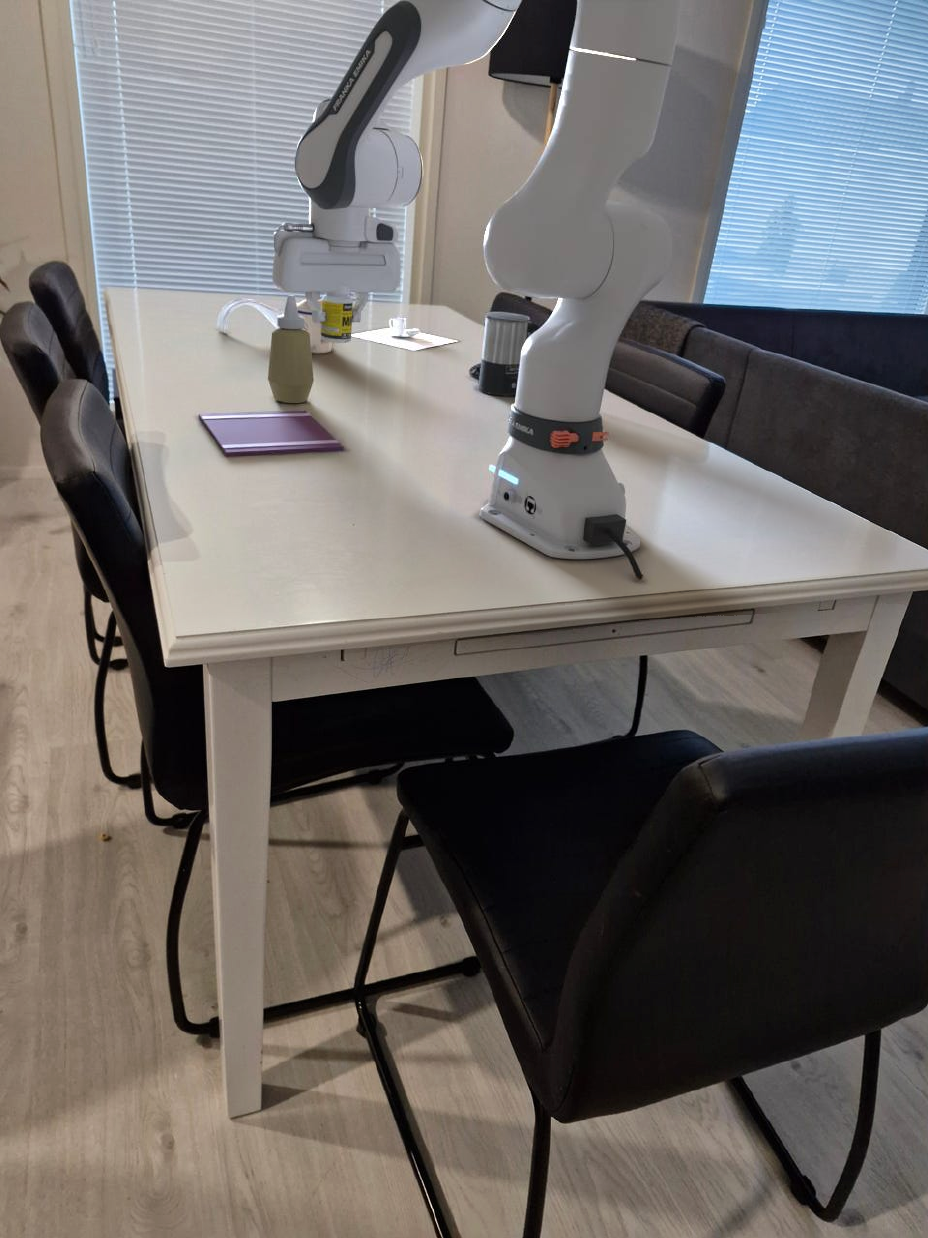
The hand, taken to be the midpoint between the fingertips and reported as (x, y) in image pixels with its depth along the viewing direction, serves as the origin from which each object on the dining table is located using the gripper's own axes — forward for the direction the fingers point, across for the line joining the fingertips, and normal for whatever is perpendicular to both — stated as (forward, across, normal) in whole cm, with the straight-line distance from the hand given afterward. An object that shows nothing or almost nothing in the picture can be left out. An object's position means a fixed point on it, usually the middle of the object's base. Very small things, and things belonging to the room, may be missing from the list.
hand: (336, 322), depth 135 cm
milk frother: (+17, +47, +18) cm, 53 cm away
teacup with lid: (+18, +24, +55) cm, 62 cm away
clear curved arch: (+18, +23, +76) cm, 81 cm away
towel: (+17, -11, +2) cm, 20 cm away
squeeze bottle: (+17, +1, +19) cm, 26 cm away
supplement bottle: (+3, 0, 0) cm, 3 cm away
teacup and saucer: (+18, +53, +64) cm, 85 cm away
